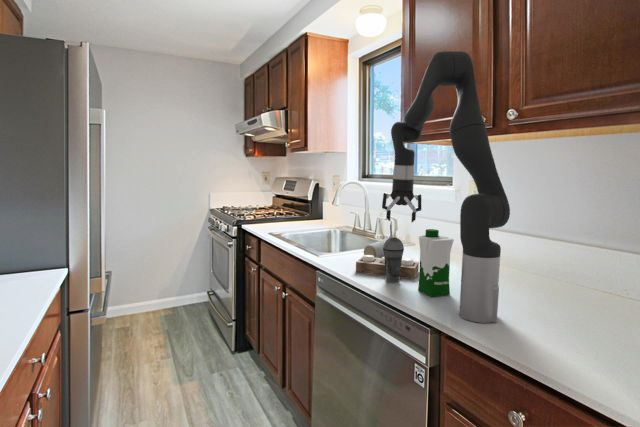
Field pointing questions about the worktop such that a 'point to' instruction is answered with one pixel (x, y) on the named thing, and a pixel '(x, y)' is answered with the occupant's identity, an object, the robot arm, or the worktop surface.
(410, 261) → the button
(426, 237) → the milk carton
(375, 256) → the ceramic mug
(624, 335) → the worktop surface
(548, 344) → the worktop surface
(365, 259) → the button
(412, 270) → the board
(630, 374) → the worktop surface
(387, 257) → the beverage cup
